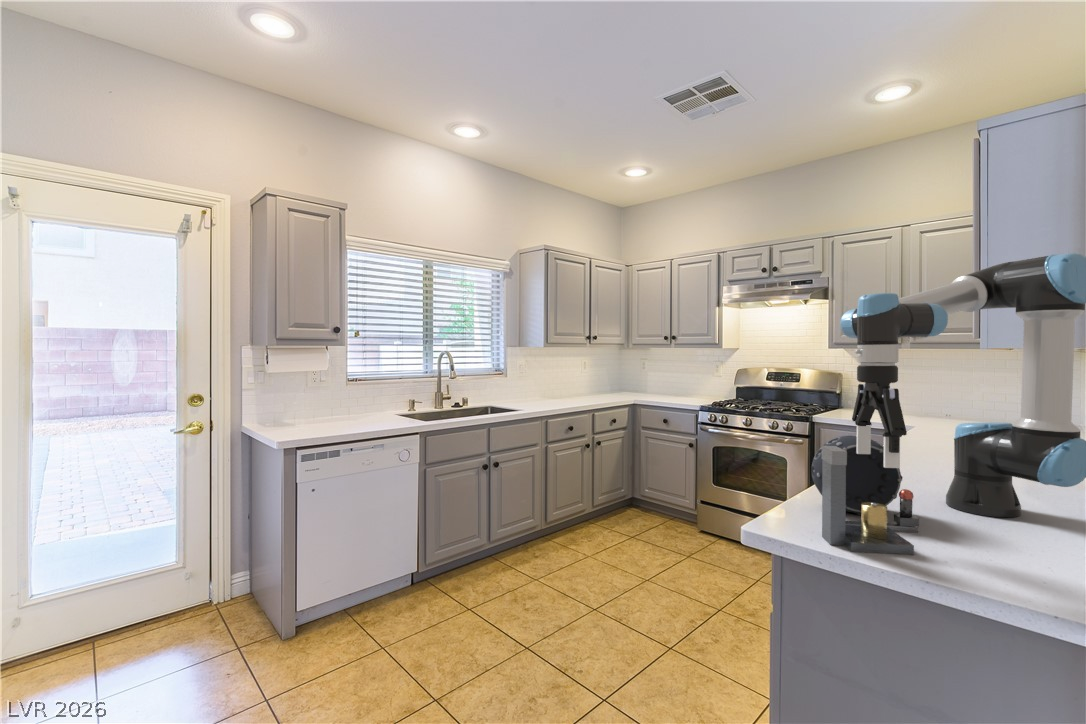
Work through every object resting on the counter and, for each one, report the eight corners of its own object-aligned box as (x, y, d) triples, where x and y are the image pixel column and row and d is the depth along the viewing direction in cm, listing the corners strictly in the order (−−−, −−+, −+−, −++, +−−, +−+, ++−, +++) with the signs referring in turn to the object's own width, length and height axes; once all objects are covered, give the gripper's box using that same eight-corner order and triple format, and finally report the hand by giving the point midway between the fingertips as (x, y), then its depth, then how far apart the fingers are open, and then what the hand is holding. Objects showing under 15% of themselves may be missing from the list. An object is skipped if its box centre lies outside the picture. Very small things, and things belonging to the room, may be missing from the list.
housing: (880, 531, 113) (880, 500, 113) (891, 539, 108) (891, 507, 108) (857, 530, 114) (857, 499, 114) (867, 538, 109) (867, 506, 109)
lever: (911, 521, 120) (912, 488, 120) (918, 526, 117) (919, 491, 117) (893, 521, 121) (893, 487, 121) (899, 525, 118) (900, 490, 118)
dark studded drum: (907, 520, 126) (907, 441, 125) (820, 515, 130) (820, 438, 129) (886, 506, 136) (887, 433, 136) (807, 503, 140) (807, 431, 140)
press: (912, 528, 120) (913, 441, 119) (956, 557, 104) (958, 456, 103) (808, 523, 124) (809, 439, 123) (835, 550, 108) (836, 453, 107)
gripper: (837, 362, 123) (836, 448, 124) (884, 366, 99) (884, 473, 99) (870, 362, 122) (870, 449, 122) (928, 366, 97) (927, 475, 98)
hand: (876, 460), depth 111 cm, fingers open, 13 cm apart
